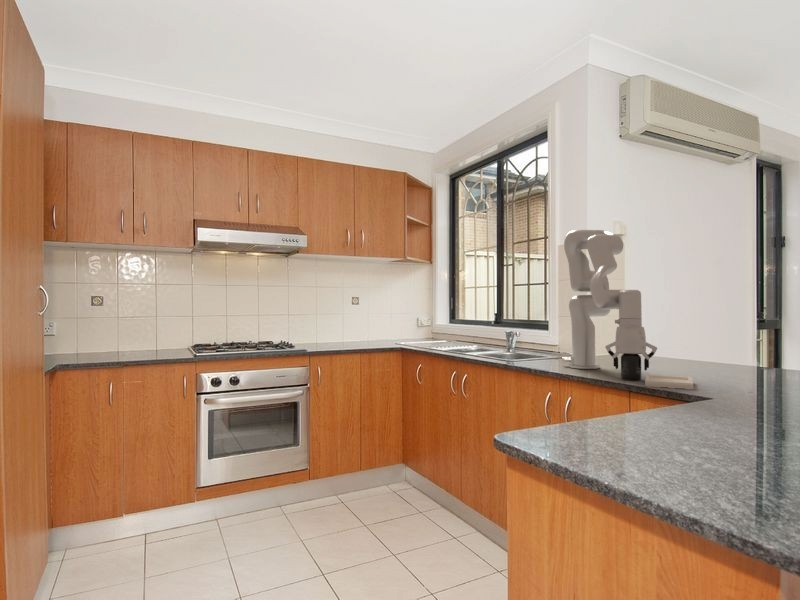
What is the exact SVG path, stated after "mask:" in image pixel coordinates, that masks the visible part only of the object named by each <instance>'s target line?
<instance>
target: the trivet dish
mask: <svg viewBox="0 0 800 600" xmlns="http://www.w3.org/2000/svg"><path fill="white" fill-rule="evenodd" d="M645 386H647V387H649V388H660V387H668V388H667V389H675V388H686V389H685V390H690V389H693V390H694V381H693V379H692V376H679V375H678V376H677V375H660V374H646V375H645V380H644V387H645Z"/></svg>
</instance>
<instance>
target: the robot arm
mask: <svg viewBox="0 0 800 600" xmlns="http://www.w3.org/2000/svg"><path fill="white" fill-rule="evenodd" d="M563 242H564V243H563V247H564V249H563V250H564V253H565V256H566V259H567V262H568V269H569V270H568V272H569V281H570V282H569V283H570V287H571V290H572V291H573V292H576V293H590V294H579V295H574V296H573V297H572V298H570V300H569V301H568V302H569V303H568V309H569V313H570V322H571V353H572V355H571V356H569V357H564V356H562V358H561V361H562V362H564V363H569V364H568V368H570V369H571V368H572V369H576V370H577V369H578V370H579V369H580V370H596V369H599V368H601V367H600V364H598V363H596V327H595V323H594V322H593V321H592V319H591V318H592V317H605V316H608V315H609V314H610V312H611V310H618V319H614V324H617V325H618V326H616V330H615V341H613V342H611V343H608V344H607V345H605V350H606V352H607V353H608V354H609V355H610V356H611V357H612V358H613V367H615V369H616V370H618V369H619V357H618V356H619V355H620V354H621V355H623V354H638V355H642V356H643V357H644V360H643V361H644V362H643V364H644V365H643V366H644V367H643V368H644V371H647V370H648V369H649V368H650V361H649V360H650V359H651V358H652V357H653V356H654V355H655V354H656V352H657V350H658V346H655V345H653V344H651V343H649V342H647V339H646V330H645V327H644V326H642V325H643V324H642V322H643V321H642V320H643V319H642V314H643V313H642V293H641V291H640V290H638V289H610V283H609V278H608V275H610V274H612V273H613V272H614V271H616V269H617V267H618V264H617V261H616V258H615V256H616V255H619V254H621V253H622V252H623V250H624V242H623V239H622V237H621V236H620V235H619V234H617V233H613V232H611V231H607V230H604V229H574V230H571V231H569V232H568V233H567V234H566V235H565V238H564V241H563ZM583 250H587V251H588V252H587V253H588V255H589V257H590V260H591V264H592V267H593V269H594V270H592V269H590V268H591V267H590V260H589V259H588V257H587V255H586V253H584V252H583ZM614 346H615V347H614ZM612 347H614V348H615V352H614V351H612V349H611V348H612ZM647 348H649V349H651V351H650V352H649V353H647Z"/></svg>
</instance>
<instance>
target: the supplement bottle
mask: <svg viewBox="0 0 800 600" xmlns="http://www.w3.org/2000/svg"><path fill="white" fill-rule="evenodd" d="M620 378H621V380H624V381H631V382H632V381H634V382H638V381H641V380H642V356H641V354H621V356H620Z"/></svg>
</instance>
